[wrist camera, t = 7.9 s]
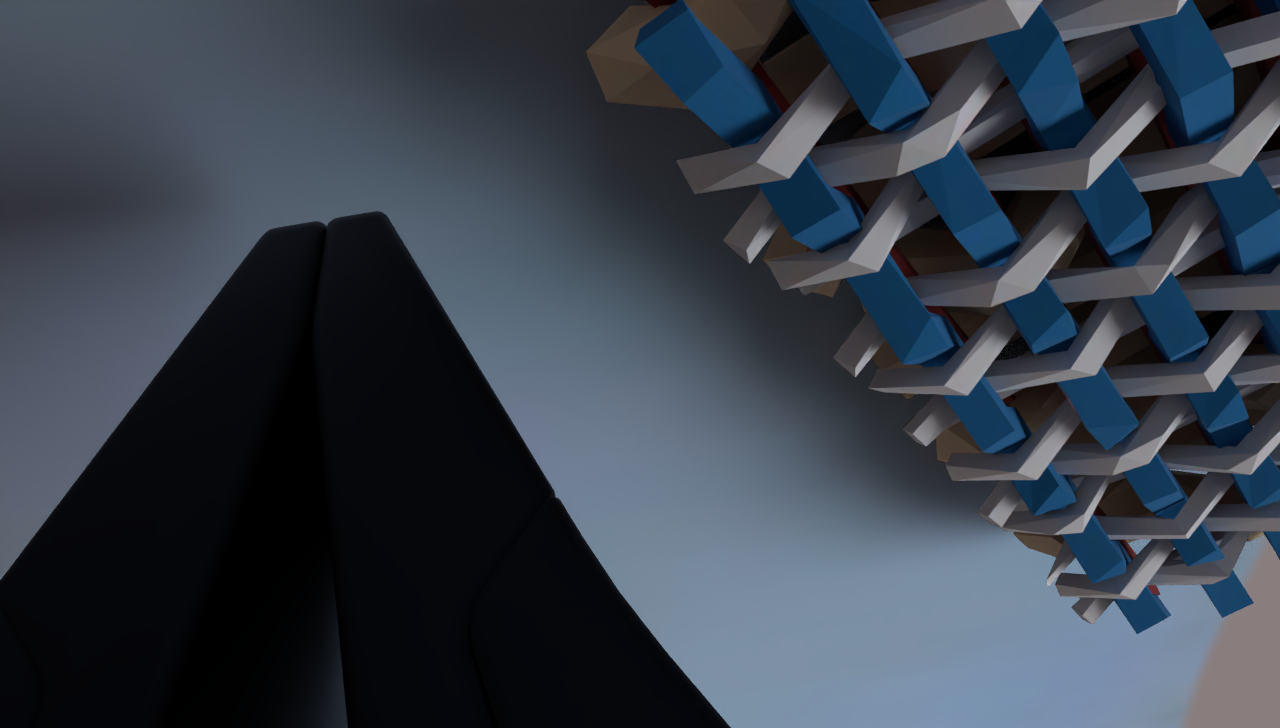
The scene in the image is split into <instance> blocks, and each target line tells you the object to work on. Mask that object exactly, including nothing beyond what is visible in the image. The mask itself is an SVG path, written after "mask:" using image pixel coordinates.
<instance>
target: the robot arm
mask: <svg viewBox="0 0 1280 728" xmlns="http://www.w3.org/2000/svg"><path fill="white" fill-rule="evenodd" d="M0 728H731V727H730V726H729V725H728V724H727V723H726V722H725V720H724V719H723V718H722V717H721V716H720V714H719V713H718V712H717V711H716V710H715V709H714V707H713V706H712V705H711V704H710V703H709V702H708V700H707V699H706V698H705V697H704V696H703V695H702V693H701V692H700V691H699V690H698V689H697V687H696V686H695V685H694V684H693V683H692V682H691V680H690V679H689V678H688V677H687V676H686V675H685V673H684V672H683V671H682V670H681V669H680V668H679V666H678V665H677V664H676V663H675V662H674V660H673V659H672V658H671V657H670V656H669V655H668V653H667V652H666V651H665V650H664V648H663V647H662V646H661V645H660V643H659V642H658V641H657V640H656V638H655V637H654V636H653V634H652V633H651V632H650V631H649V629H648V628H647V627H646V625H645V624H644V623H643V622H642V620H641V619H640V618H639V616H638V615H637V614H636V613H635V611H634V610H633V609H632V607H631V606H630V605H629V604H628V602H627V601H626V600H625V599H624V597H623V596H622V595H621V593H620V592H619V591H618V589H617V588H616V586H615V585H614V583H613V582H612V580H611V579H610V577H609V576H608V574H607V573H606V571H605V570H604V568H603V567H602V565H601V564H600V562H599V561H598V559H597V558H596V556H595V555H594V553H593V552H592V550H591V549H590V547H589V546H588V544H587V543H586V541H585V540H584V538H583V537H582V535H581V533H580V532H579V530H578V528H577V527H576V525H575V524H574V522H573V520H572V519H571V517H570V515H569V514H568V512H567V510H566V509H565V507H564V505H563V504H562V502H561V501H560V499H558V498H556V497H555V492H554V490H553V488H552V487H551V485H550V483H549V482H548V480H547V478H546V477H545V475H544V474H543V472H542V470H541V469H540V467H539V465H538V464H537V462H536V460H535V459H534V457H533V455H532V454H531V452H530V450H529V449H528V447H527V446H526V444H525V442H524V441H523V439H522V437H521V436H520V434H519V432H518V431H517V429H516V427H515V426H514V424H513V422H512V421H511V419H510V417H509V416H508V414H507V413H506V411H505V409H504V408H503V406H502V404H501V403H500V401H499V399H498V398H497V396H496V394H495V393H494V391H493V389H492V388H491V386H490V385H489V383H488V381H487V380H486V378H485V376H484V375H483V373H482V371H481V370H480V368H479V366H478V365H477V363H476V361H475V360H474V358H473V357H472V355H471V353H470V352H469V350H468V348H467V347H466V345H465V343H464V342H463V340H462V338H461V337H460V335H459V333H458V332H457V330H456V329H455V327H454V325H453V324H452V322H451V320H450V319H449V317H448V315H447V314H446V312H445V310H444V309H443V307H442V305H441V304H440V302H439V301H438V299H437V297H436V296H435V294H434V292H433V291H432V289H431V287H430V286H429V284H428V282H427V281H426V279H425V277H424V276H423V274H422V273H421V271H420V269H419V268H418V266H417V264H416V263H415V261H414V259H413V258H412V256H411V254H410V253H409V251H408V249H407V248H406V246H405V245H404V243H403V241H402V240H401V238H400V236H399V235H398V233H397V231H396V230H395V228H394V226H393V225H392V223H391V221H390V220H389V218H388V217H387V216H386V215H385V214H384V213H382V212H379V211H375V212H369V213H363V214H357V215H351V216H345V217H339V218H335V219H333V220H331V221H330V222H329V223H328V225H327V226H326V225H325V224H323V223H321V222H319V221H314V222H308V223H302V224H296V225H290V226H284V227H278V228H274V229H270V230H269V231H267V232H266V233H265V234H264V235H263V236H262V237H261V238H260V239H259V241H258V242H257V243H256V245H255V246H254V247H253V249H252V250H251V251H250V252H249V254H248V255H247V256H246V258H245V259H244V260H243V262H242V263H241V264H240V266H239V267H238V268H237V270H236V271H235V272H234V274H233V275H232V276H231V277H230V279H229V280H228V281H227V283H226V284H225V285H224V287H223V288H222V289H221V291H220V292H219V293H218V295H217V296H216V297H215V299H214V300H213V301H212V302H211V304H210V305H209V306H208V308H207V309H206V310H205V312H204V313H203V314H202V316H201V317H200V318H199V320H198V321H197V322H196V324H195V325H194V326H193V328H192V329H191V330H190V331H189V333H188V334H187V335H186V337H185V338H184V339H183V341H182V342H181V343H180V345H179V346H178V347H177V349H176V350H175V351H174V353H173V354H172V355H171V356H170V358H169V359H168V360H167V362H166V363H165V364H164V366H163V367H162V368H161V370H160V371H159V372H158V374H157V375H156V376H155V378H154V379H153V380H152V381H151V383H150V384H149V385H148V387H147V388H146V389H145V391H144V392H143V393H142V395H141V396H140V397H139V399H138V400H137V401H136V403H135V404H134V405H133V406H132V408H131V409H130V410H129V412H128V413H127V414H126V416H125V417H124V418H123V420H122V421H121V422H120V424H119V425H118V426H117V428H116V429H115V430H114V432H113V433H112V434H111V435H110V437H109V438H108V439H107V441H106V442H105V443H104V445H103V446H102V447H101V449H100V450H99V451H98V453H97V454H96V455H95V457H94V458H93V459H92V460H91V462H90V463H89V464H88V466H87V467H86V468H85V470H84V471H83V472H82V474H81V475H80V476H79V478H78V479H77V480H76V482H75V483H74V484H73V485H72V487H71V488H70V489H69V491H68V492H67V493H66V495H65V496H64V497H63V499H62V500H61V501H60V503H59V504H58V505H57V507H56V508H55V509H54V511H53V512H52V513H51V514H50V516H49V517H48V518H47V520H46V521H45V522H44V524H43V525H42V526H41V528H40V529H39V530H38V532H37V533H36V534H35V536H34V537H33V538H32V539H31V541H30V542H29V543H28V545H27V546H26V547H25V549H24V550H23V551H22V553H21V554H20V555H19V557H18V558H17V559H16V561H15V562H14V563H13V564H12V566H11V567H10V568H9V570H8V571H7V572H6V574H5V575H4V576H3V578H2V579H1V580H0Z"/></svg>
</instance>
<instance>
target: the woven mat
mask: <svg viewBox="0 0 1280 728" xmlns="http://www.w3.org/2000/svg"><path fill="white" fill-rule="evenodd" d="M646 1H647V2H648V3H649V4H651V5H635V6H629V7H628V8H627V9H626V10H625V11H624V12H623V14H622V15H621V16H620V17H619V18H618V19H617V20H616V21H615V22H614V23H613V24H612V25H611V26H610V27H609V28H608V29H607V30H606V31H605V32H604V33H603V34H602V35H601V36H600V37H599V38H598V39H597V40H596V41H595V42H594V43H593V44H592V45H591V47H590V48H589V49H588V50H587V51H586V54H587V56H588V59H589V61H590V63H591V65H592V68H593V70H594V72H595V75H596V77H597V79H598V82H599V84H600V86H601V89H602V91H603V93H604V96H605V98H606V100H607V102H612V103H623V104H634V105H645V106H657V107H668V108H679V109H690V110H691V111H692V112H693V113H695V114H696V115H697V116H698V117H699V118H700V119H701V120H702V121H703V122H704V123H705V124H707V125H708V126H709V127H710V128H711V129H712V130H713V131H714V132H715V133H716V134H718V135H719V136H720V137H721V138H722V139H723V140H724V141H725V142H726V143H727V144H728V145H729V147H730V149H727V150H722V151H718V152H713V153H708V154H704V155H699V156H694V157H690V158H685V159H681V160H676V162H677V163H678V165H679V167H680V169H681V171H682V172H683V174H684V176H685V178H686V180H687V181H688V183H689V185H690V187H691V189H692V190H693V192H694V194H699V193H705V192H712V191H718V190H724V189H730V188H736V187H742V186H748V185H754V184H758V185H759V187H760V189H761V190H760V192H759V193H758V194H757V196H756V197H755V198H754V200H753V201H752V202H751V204H750V205H749V206H748V208H747V209H746V210H745V212H744V213H743V214H742V216H741V217H740V218H739V220H738V221H737V222H736V224H735V225H734V226H733V228H732V229H731V230H730V232H729V233H728V234H727V236H726V237H725V239H724V240H723V241H724V242H725V243H726V244H727V245H728V246H729V247H731V248H732V249H733V250H734V251H735V252H736V253H737V254H739V255H740V256H741V257H742V258H743V259H744V260H745V261H746V262H748V263H749V264H750V263H751V262H752V261H753V259H754V258H755V257H756V255H757V254H758V253H759V251H760V250H761V249H762V247H763V246H764V245H765V244H766V242H767V241H768V240H769V238H770V237H771V236H772V234H773V233H774V232H775V231H776V232H775V234H774V236H773V238H772V241H771V243H770V245H769V247H768V249H767V251H766V253H765V255H764V258H763V261H764V262H765V263H766V264H767V265H768V266H769V267H770V269H771V271H772V273H773V275H774V276H775V278H776V280H777V282H778V284H779V286H780V288H781V289H782V290H787V289H792V288H798V289H799V290H800V291H801V293H802V294H803V295H804V296H806V295H808V294H809V293H811V292H815V293H818V294H822V295H826V296H830V297H833V296H834V294H835V292H836V290H837V289H838V287H839V285H840V284H841V282H842V280H843V279H844V278H846V279H847V281H848V282H849V284H850V285H851V287H852V288H853V290H854V291H855V293H856V295H857V296H858V298H859V299H860V301H861V304H862V307H863V310H864V312H865V315H864V316H863V318H862V319H861V321H860V322H859V323H858V325H857V326H856V327H855V329H854V330H853V331H852V333H851V334H850V335H849V337H848V338H847V340H846V341H845V342H844V344H843V345H842V346H841V348H840V349H839V350H838V352H837V353H836V354H835V356H834V357H833V358H834V359H835V360H836V361H837V362H838V363H839V364H840V365H842V366H843V367H844V368H845V369H846V370H847V371H849V372H850V373H851V374H852V375H853V376H854V377H856V376H857V375H858V374H859V372H860V371H861V370H862V369H863V367H864V366H865V365H866V364H867V362H868V361H869V360H870V359H872V360H873V361H874V362H875V364H876V365H877V366H878V367H879V369H877V370H876V372H875V375H874V377H873V379H872V381H871V384H870V386H869V389H873V390H877V391H881V392H887V393H901V395H902V396H903V397H905V398H906V399H909V398H911V397H913V396H915V395H916V394H935V395H934V396H933V397H932V398H931V399H930V400H929V401H928V403H927V404H926V405H925V406H924V407H923V408H922V409H921V410H919V411H917V414H916V415H915V416H914V417H913V418H912V419H911V421H910V422H909V423H908V424H907V425H906V426H905V427H904V428H903V430H904V431H905V432H906V433H907V434H908V435H909V436H910V437H912V438H913V439H914V440H915V441H916V442H917V443H919V444H921V445H924V446H927V445H928V444H930V443H931V442H932V441H933V440H934V439H935V438H936V447H937V460H938V461H942V462H946V463H947V464H946V465H945V466H946V468H947V470H948V472H949V475H950V477H951V479H952V481H981V480H1000V481H999V482H998V483H997V485H996V486H995V488H994V489H993V490H992V492H991V493H990V495H989V496H988V497H987V499H986V500H985V501H984V503H983V504H982V506H981V507H980V508H979V510H978V511H977V513H978V514H979V515H980V516H982V517H983V518H984V519H985V520H986V521H988V522H989V523H990V524H993V525H996V526H998V528H1001V529H1004V530H1006V531H1011V532H1014V535H1015V536H1016V537H1017V538H1018V539H1019V540H1020V541H1021V542H1022V543H1023V544H1025V545H1026V546H1027V547H1028V548H1030V549H1034V550H1037V551H1040V552H1043V553H1046V554H1049V555H1052V556H1055V557H1057V558H1056V560H1055V562H1054V564H1053V567H1052V569H1051V571H1050V573H1049V576H1048V578H1047V580H1046V582H1047V585H1048V587H1049V586H1050V585H1051V584H1052V583H1053V581H1054V580H1055V579H1056V578H1057V577H1058V576H1059V577H1058V579H1057V581H1056V584H1055V585H1056V587H1057V590H1058V592H1059V594H1060V596H1066V597H1080V598H1081V599H1080V600H1079V601H1078V602H1077V603H1075V604H1074V605H1073V606H1072V609H1073V610H1074V611H1075V612H1076V613H1077V614H1078V615H1079V616H1080V617H1081V618H1082V619H1083V620H1085V621H1087V622H1089V623H1090V624H1092V625H1093V624H1094V623H1095V621H1096V620H1097V619H1098V618H1099V617H1100V616H1101V614H1102V613H1103V612H1104V611H1105V610H1106V609H1107V607H1108V606H1109V605H1110V604H1111V603H1112V602H1113V600H1114V601H1115V602H1116V604H1117V605H1118V606H1119V608H1120V609H1121V611H1122V612H1123V614H1124V615H1125V617H1126V618H1127V620H1128V621H1129V623H1130V624H1131V626H1132V627H1133V629H1134V630H1135V632H1136V633H1137V634H1138V633H1140V632H1142V631H1144V630H1146V629H1148V628H1149V627H1151V626H1153V625H1155V624H1157V623H1158V622H1160V621H1162V620H1164V619H1166V618H1168V617H1169V616H1171V614H1170V613H1169V611H1168V610H1167V609H1166V607H1165V606H1164V604H1163V603H1162V602H1161V600H1160V599H1159V597H1158V595H1160V593H1159V590H1158V588H1157V586H1156V585H1195V584H1201V585H1202V587H1203V588H1204V590H1205V591H1206V593H1207V595H1208V596H1209V598H1210V599H1211V601H1212V602H1213V604H1214V605H1215V607H1216V609H1217V610H1218V612H1219V613H1220V615H1221V616H1222V618H1223V617H1225V616H1227V615H1229V614H1231V613H1234V612H1236V611H1238V610H1240V609H1242V608H1244V607H1246V606H1248V605H1251V604H1253V601H1252V600H1251V598H1250V597H1249V595H1248V593H1247V592H1246V590H1245V589H1244V587H1243V586H1242V584H1241V582H1240V581H1239V579H1238V578H1237V576H1236V575H1235V573H1234V572H1233V568H1234V566H1235V564H1236V562H1237V560H1238V557H1239V555H1240V553H1241V551H1242V549H1243V547H1244V545H1245V543H1246V541H1252V540H1254V539H1256V538H1258V537H1261V536H1263V535H1265V536H1266V537H1267V539H1268V541H1269V542H1270V544H1271V545H1272V547H1273V549H1274V550H1275V552H1276V554H1277V556H1278V557H1279V559H1280V0H880V1H875V2H870V1H869V0H646ZM1233 4H1235V6H1236V9H1237V12H1235V13H1234V14H1232V15H1230V16H1229V17H1227V18H1225V19H1224V20H1222V21H1221V22H1219V23H1217V24H1216V25H1214V26H1212V27H1211V28H1208V26H1207V25H1206V23H1205V21H1204V20H1205V19H1207V18H1208V17H1210V16H1212V15H1213V14H1215V13H1216V12H1218V11H1220V10H1221V9H1223V8H1224V7H1226V6H1228V5H1233ZM793 10H795V12H796V13H797V15H798V16H799V18H800V19H801V21H802V22H803V24H804V26H805V27H806V29H807V30H808V32H809V34H807V35H805V36H804V37H802V38H800V39H799V40H797V41H796V42H794V43H793V44H791V45H790V46H788V47H787V48H785V49H784V50H782V51H781V52H779V53H778V54H776V55H775V56H773V57H772V58H770V59H769V60H767V61H766V62H764V63H763V64H762V62H761V61H760V59H759V58H760V57H761V56H762V54H763V53H764V51H765V50H766V48H767V47H768V46H769V44H770V43H771V41H772V40H773V38H774V37H775V36H776V34H777V33H778V31H779V30H780V28H781V27H782V26H783V24H784V23H785V21H786V20H787V18H788V17H789V16H790V14H791V13H792V11H793ZM1129 66H1130V68H1131V70H1132V72H1133V74H1134V75H1133V76H1131V77H1130V78H1128V79H1126V80H1125V81H1123V82H1121V83H1120V84H1118V85H1117V86H1115V87H1113V88H1112V89H1110V90H1108V91H1107V92H1105V93H1104V94H1102V95H1100V96H1099V97H1097V98H1095V99H1094V100H1092V101H1091V102H1089V103H1088V104H1086V102H1085V101H1084V99H1083V97H1082V95H1084V94H1086V93H1087V92H1089V91H1090V90H1092V89H1094V88H1095V87H1097V86H1098V85H1100V84H1102V83H1103V82H1105V81H1107V80H1108V79H1110V78H1111V77H1113V76H1115V75H1116V74H1118V73H1119V72H1121V71H1123V70H1124V69H1126V68H1128V67H1129ZM858 108H859V109H860V111H861V112H862V114H863V115H864V117H865V118H866V120H867V122H868V124H866V125H865V126H863V127H862V128H860V129H859V130H858V131H857V132H856V133H855V134H854V135H853V136H852V137H851V138H850V139H849V140H848V141H843V142H837V143H832V144H827V145H822V146H821V144H820V143H819V142H818V139H819V138H820V137H821V135H822V134H823V133H824V131H825V130H826V128H827V127H828V126H829V125H831V124H833V123H834V122H836V121H838V120H839V119H841V118H843V117H844V116H846V115H848V114H849V113H851V112H853V111H854V110H856V109H858ZM1026 130H1027V132H1028V134H1029V135H1030V137H1031V139H1032V140H1033V142H1034V144H1035V146H1036V147H1037V149H1038V151H1039V152H1035V153H1027V154H1018V155H1009V156H1001V157H992V158H983V159H981V158H982V157H984V156H985V155H987V154H989V153H990V152H992V151H993V150H995V149H997V148H998V147H1000V146H1002V145H1003V144H1005V143H1006V142H1008V141H1010V140H1011V139H1013V138H1014V137H1016V136H1018V135H1019V134H1021V133H1023V132H1024V131H1026ZM1263 146H1264V147H1265V150H1266V152H1260V150H1261V149H1262V148H1263ZM995 190H1017V192H1016V194H1015V196H1014V197H1013V199H1012V201H1011V203H1010V204H1009V206H1008V208H1007V209H1006V210H1005V208H1004V207H1003V205H1002V203H1001V202H1000V200H999V199H998V197H997V196H996V194H995V192H994V191H995ZM939 214H940V215H941V217H942V218H943V220H944V221H945V223H946V224H947V226H948V228H949V229H950V231H947V230H935V229H923V228H918V227H920V226H921V225H923V224H925V223H926V222H928V221H930V220H931V219H933V218H934V217H936V216H938V215H939ZM776 229H777V230H776ZM1071 309H1072V310H1071ZM1070 310H1071V312H1069V311H1070ZM1216 310H1234V312H1233V313H1232V314H1231V316H1230V317H1229V318H1228V319H1227V321H1226V322H1225V323H1224V325H1223V326H1222V327H1221V329H1220V330H1219V331H1218V332H1217V334H1216V335H1215V336H1214V338H1210V337H1209V336H1208V334H1207V333H1206V331H1205V329H1204V327H1203V326H1202V324H1201V322H1200V320H1199V319H1201V318H1203V317H1205V316H1207V315H1209V314H1211V313H1213V312H1215V311H1216ZM1022 336H1023V338H1024V340H1025V341H1026V343H1027V344H1028V346H1029V347H1030V349H1031V350H1029V351H1028V352H1026V353H1024V354H1022V355H1020V356H1018V357H1016V358H1013V359H1006V360H999V361H994V360H995V358H996V357H997V356H998V354H999V353H1000V352H1001V350H1002V349H1003V348H1004V346H1006V345H1008V344H1009V343H1011V342H1013V341H1015V340H1017V339H1018V338H1020V337H1022ZM1150 345H1151V346H1150ZM1148 346H1150V347H1148ZM1146 347H1148V348H1146ZM1145 348H1146V349H1145ZM1143 349H1144V350H1143ZM1141 350H1142V351H1141ZM1254 425H1255V426H1254ZM1252 426H1254V428H1253V427H1252ZM1170 469H1182V470H1195V471H1208V473H1207V474H1198V473H1190V472H1182V471H1174V470H1170ZM1013 510H1014V511H1013ZM1138 539H1152V540H1151V541H1150V542H1149V543H1148V544H1147V545H1146V546H1145V547H1144V548H1143V549H1142V550H1141V551H1140V552H1139V553H1138V555H1136V553H1135V552H1134V551H1133V549H1132V548H1131V547H1130V546H1129V544H1128V542H1132V541H1135V540H1138ZM1174 547H1175V548H1176V549H1175V550H1173V549H1174ZM1172 550H1173V551H1172ZM1075 557H1076V558H1077V560H1078V561H1079V563H1080V564H1081V566H1082V568H1083V569H1084V571H1085V572H1086V574H1087V575H1085V574H1072V573H1062V572H1063V570H1064V569H1065V568H1066V567H1067V566H1068V565H1069V564H1070V563H1071V562H1072V561H1073V559H1074V558H1075Z"/></svg>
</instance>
